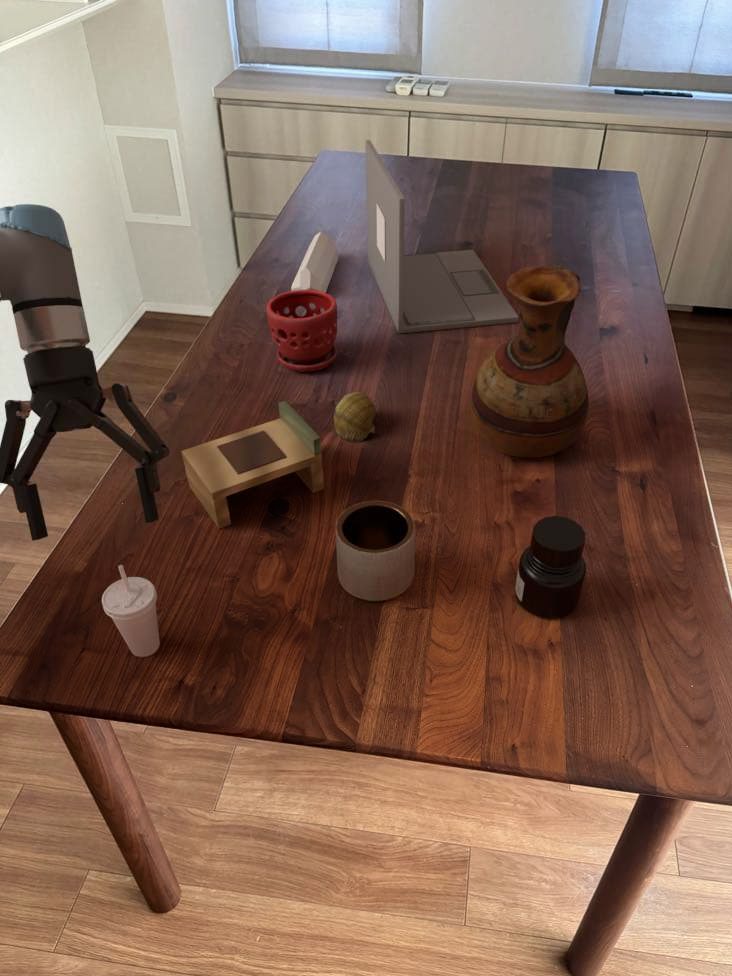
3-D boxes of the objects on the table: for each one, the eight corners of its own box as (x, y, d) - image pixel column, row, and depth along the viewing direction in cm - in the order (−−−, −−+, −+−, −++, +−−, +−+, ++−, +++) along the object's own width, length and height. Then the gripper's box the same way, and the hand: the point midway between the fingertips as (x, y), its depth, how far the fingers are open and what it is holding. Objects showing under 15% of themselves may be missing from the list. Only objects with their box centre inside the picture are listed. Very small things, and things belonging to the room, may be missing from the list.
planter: (341, 608, 108) (338, 557, 102) (334, 553, 116) (331, 503, 109) (420, 599, 109) (422, 549, 103) (407, 545, 117) (408, 496, 111)
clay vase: (450, 449, 135) (461, 281, 114) (492, 391, 148) (509, 232, 128) (561, 481, 129) (594, 310, 108) (594, 418, 142) (629, 255, 122)
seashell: (369, 455, 140) (396, 420, 137) (345, 448, 134) (373, 411, 131) (338, 422, 144) (364, 387, 142) (314, 413, 138) (340, 377, 136)
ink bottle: (538, 563, 115) (549, 500, 107) (591, 592, 111) (608, 528, 103) (500, 601, 109) (509, 537, 101) (555, 632, 105) (569, 569, 97)
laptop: (518, 322, 168) (534, 190, 149) (397, 334, 163) (398, 199, 145) (472, 255, 193) (481, 134, 174) (367, 263, 188) (364, 140, 170)
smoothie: (171, 624, 106) (149, 548, 96) (169, 662, 101) (146, 586, 91) (121, 630, 105) (94, 554, 95) (117, 668, 100) (88, 592, 91)
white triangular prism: (330, 287, 170) (346, 242, 188) (300, 269, 168) (320, 225, 186) (315, 313, 175) (332, 267, 192) (285, 297, 173) (306, 251, 190)
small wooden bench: (218, 528, 119) (208, 476, 113) (189, 486, 127) (177, 434, 120) (324, 488, 127) (320, 437, 120) (290, 450, 134) (285, 400, 127)
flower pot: (346, 346, 160) (343, 290, 151) (330, 380, 150) (326, 322, 142) (283, 340, 161) (277, 284, 153) (264, 373, 152) (256, 316, 144)
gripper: (172, 336, 95) (206, 510, 98) (-33, 368, 95) (8, 540, 99) (154, 330, 88) (191, 517, 91) (-68, 364, 88) (-23, 551, 91)
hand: (96, 530), depth 95 cm, fingers open, 13 cm apart
